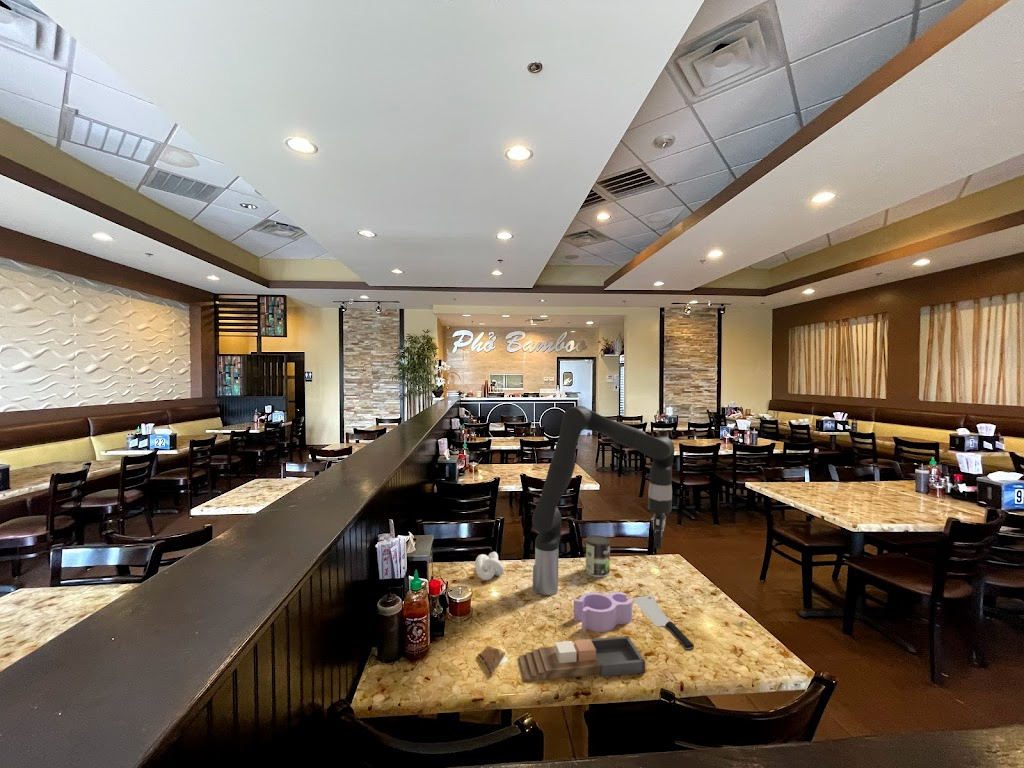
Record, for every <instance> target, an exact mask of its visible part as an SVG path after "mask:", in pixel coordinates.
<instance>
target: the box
mask: <svg viewBox="0 0 1024 768" xmlns="http://www.w3.org/2000/svg"><path fill="white" fill-rule="evenodd" d="M590 639H591V641H592V643H593V645H594V647H595V649H596V657H597V659H598V661H599V663H600V665H601V674H600V676H601V678H602V677H614V676H622V675H634V674H644V673H645V674H646V660H645V659H644V657H643V656H642V654H641V653H640V651H639V649H638V648H637V647H636V645H635V644H634V642H633V641H632V639H631V638H630V637H629V636H628V635H625V636H623V635H622V636H614V637H612V636H611V637H600V638H590Z"/></svg>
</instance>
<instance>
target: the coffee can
mask: <svg viewBox="0 0 1024 768" xmlns="http://www.w3.org/2000/svg"><path fill="white" fill-rule="evenodd" d="M585 541H586V542H585V543H586V544H585V545H586V546H585V550H586V551H585V573H586V574H587V575H589V576H590V577H594V578H606V577H608V576H609V575H610V573H611V572H610V571H611V570H610V566H611V565H610V563H611V558H610V557H611V550H610V549H611V540H610V538H609V537H606V536H603V535H595V534H593V535H590V536H589V535H588V536H587V537H586V538H585Z"/></svg>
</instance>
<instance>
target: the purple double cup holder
mask: <svg viewBox="0 0 1024 768" xmlns="http://www.w3.org/2000/svg"><path fill="white" fill-rule="evenodd" d="M627 596H628V595H627V593H625V592H622V591H621V592H620V591H613V592H611V593H601V592H586V593H584V594H582V595H581V596H580V597H579V598H573V621H577V622H581V631H583V632H586V631H587V630H589V631H592V632H597V633H605V632H610V631H612V630H613V629H615V627H616V626H617V625H621V624H622V625H624V624H625V625H626V624H629V623H631V622H632V621H633V603H634V601H633V599H632V598H628V597H627ZM627 598H628V600H627Z"/></svg>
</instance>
